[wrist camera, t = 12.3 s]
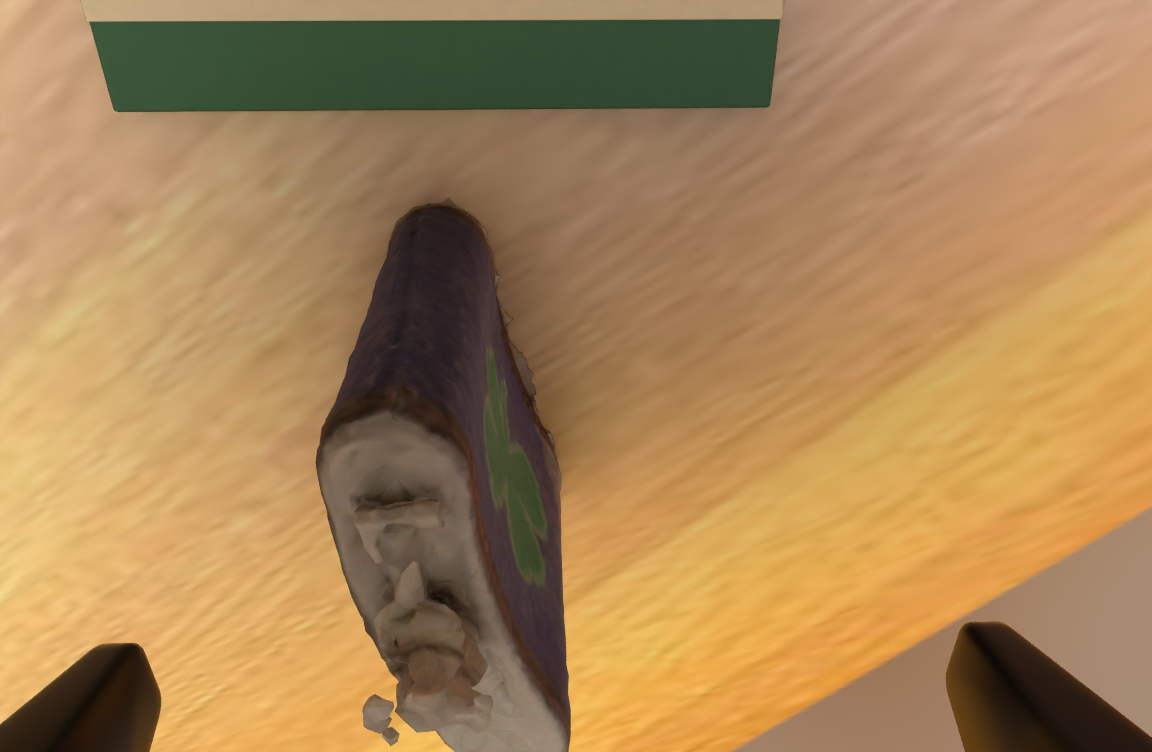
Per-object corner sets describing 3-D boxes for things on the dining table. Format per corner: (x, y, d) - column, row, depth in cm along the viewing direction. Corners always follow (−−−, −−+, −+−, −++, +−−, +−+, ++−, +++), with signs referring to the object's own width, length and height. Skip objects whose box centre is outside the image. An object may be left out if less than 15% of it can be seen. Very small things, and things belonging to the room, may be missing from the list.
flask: (572, 490, 24) (589, 869, 15) (473, 510, 24) (430, 896, 15) (478, 185, 20) (421, 462, 10) (358, 214, 20) (196, 511, 11)
